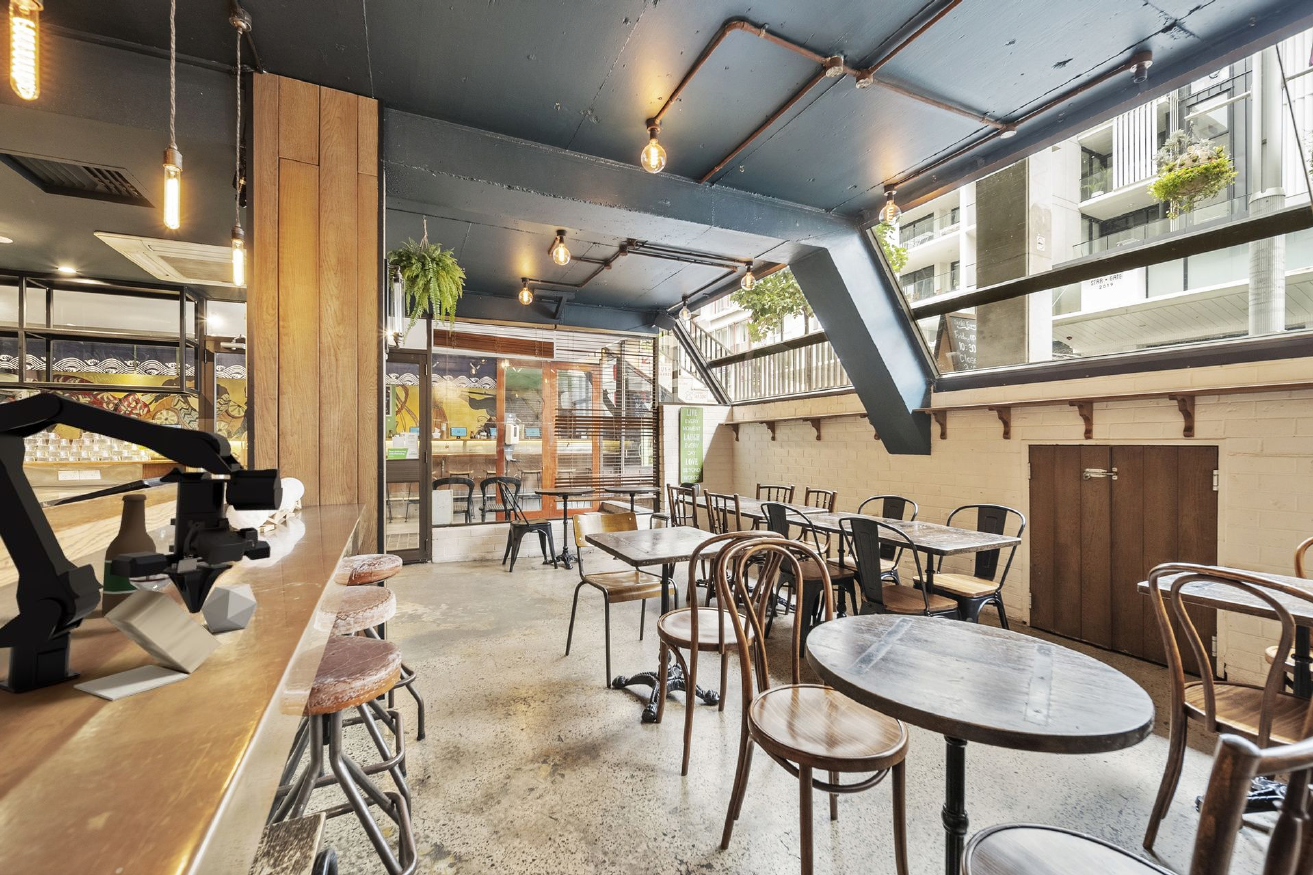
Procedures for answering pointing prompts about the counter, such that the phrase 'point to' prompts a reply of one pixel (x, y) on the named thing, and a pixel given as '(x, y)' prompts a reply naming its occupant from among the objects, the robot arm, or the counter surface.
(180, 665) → the birch block
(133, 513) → the beer bottle
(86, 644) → the counter surface
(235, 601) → the die
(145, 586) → the wineglass
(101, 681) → the mat
